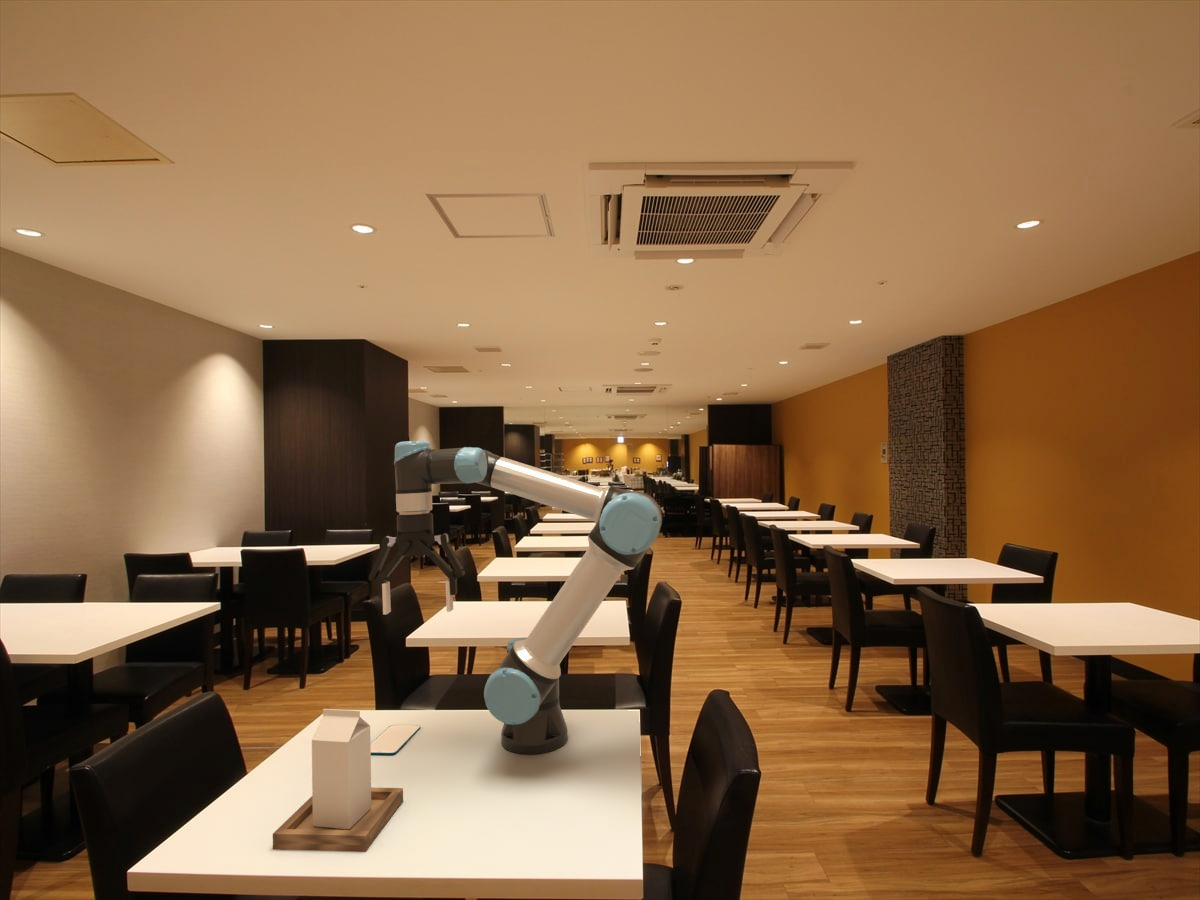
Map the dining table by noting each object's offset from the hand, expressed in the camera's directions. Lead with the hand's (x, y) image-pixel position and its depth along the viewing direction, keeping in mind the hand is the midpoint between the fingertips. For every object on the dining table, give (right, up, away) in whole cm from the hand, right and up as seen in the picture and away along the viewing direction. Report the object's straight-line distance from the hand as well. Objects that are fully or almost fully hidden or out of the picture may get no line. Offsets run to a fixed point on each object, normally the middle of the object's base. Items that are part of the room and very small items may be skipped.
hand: (418, 612), depth 140 cm
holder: (-7, -32, -24) cm, 40 cm away
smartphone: (-9, -33, +11) cm, 36 cm away
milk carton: (-7, -31, -24) cm, 40 cm away
